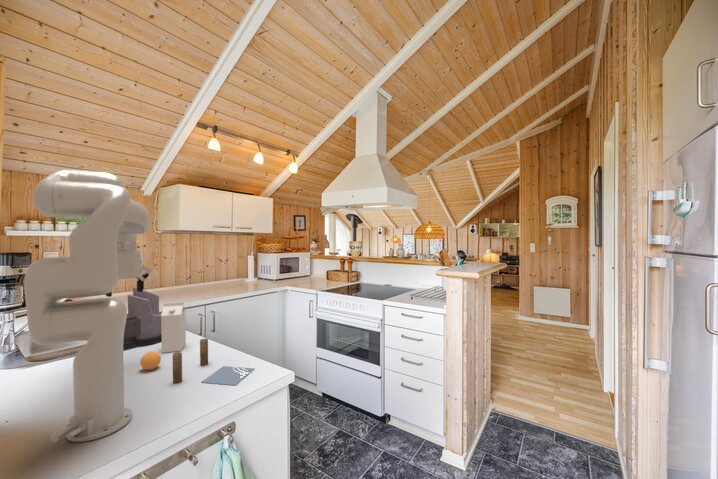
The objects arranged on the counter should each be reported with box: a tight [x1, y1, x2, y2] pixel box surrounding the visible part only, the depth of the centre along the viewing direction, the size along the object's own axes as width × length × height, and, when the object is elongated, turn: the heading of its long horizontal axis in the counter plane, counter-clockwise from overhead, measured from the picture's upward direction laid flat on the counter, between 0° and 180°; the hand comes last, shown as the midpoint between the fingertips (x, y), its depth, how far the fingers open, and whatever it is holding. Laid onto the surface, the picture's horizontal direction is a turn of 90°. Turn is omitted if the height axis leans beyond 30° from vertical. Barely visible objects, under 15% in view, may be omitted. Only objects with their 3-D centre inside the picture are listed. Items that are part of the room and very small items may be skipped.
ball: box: [139, 351, 162, 371], centre depth 109 cm, size 6×6×6 cm
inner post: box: [172, 351, 183, 384], centre depth 100 cm, size 3×3×9 cm
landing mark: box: [201, 365, 256, 386], centre depth 104 cm, size 12×12×1 cm
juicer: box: [123, 286, 162, 352], centre depth 133 cm, size 30×16×24 cm, turn 146°
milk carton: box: [160, 302, 187, 354], centre depth 127 cm, size 7×7×19 cm
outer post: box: [199, 338, 209, 367], centre depth 113 cm, size 3×3×9 cm
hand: (124, 293), depth 113 cm, fingers open, 9 cm apart
